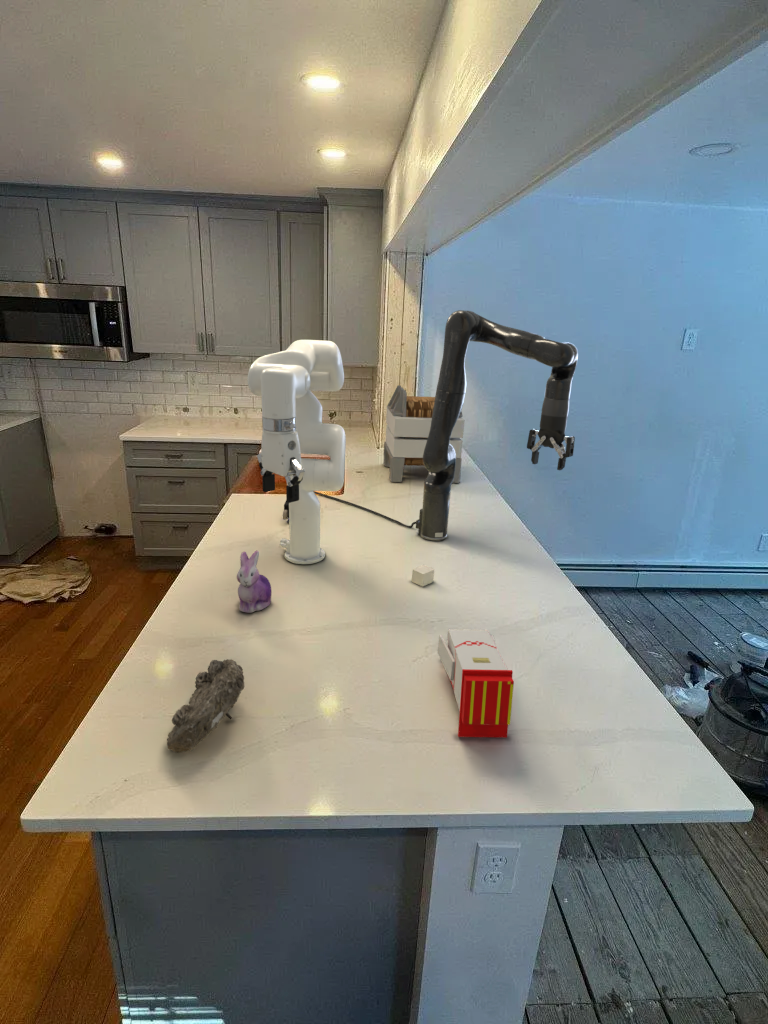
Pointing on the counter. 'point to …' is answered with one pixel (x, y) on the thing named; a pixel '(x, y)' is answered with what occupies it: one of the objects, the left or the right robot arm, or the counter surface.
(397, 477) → the white wooden crate
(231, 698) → the fossil
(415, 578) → the block
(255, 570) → the figurine
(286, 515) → the figurine character
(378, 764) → the counter surface
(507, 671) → the toy
